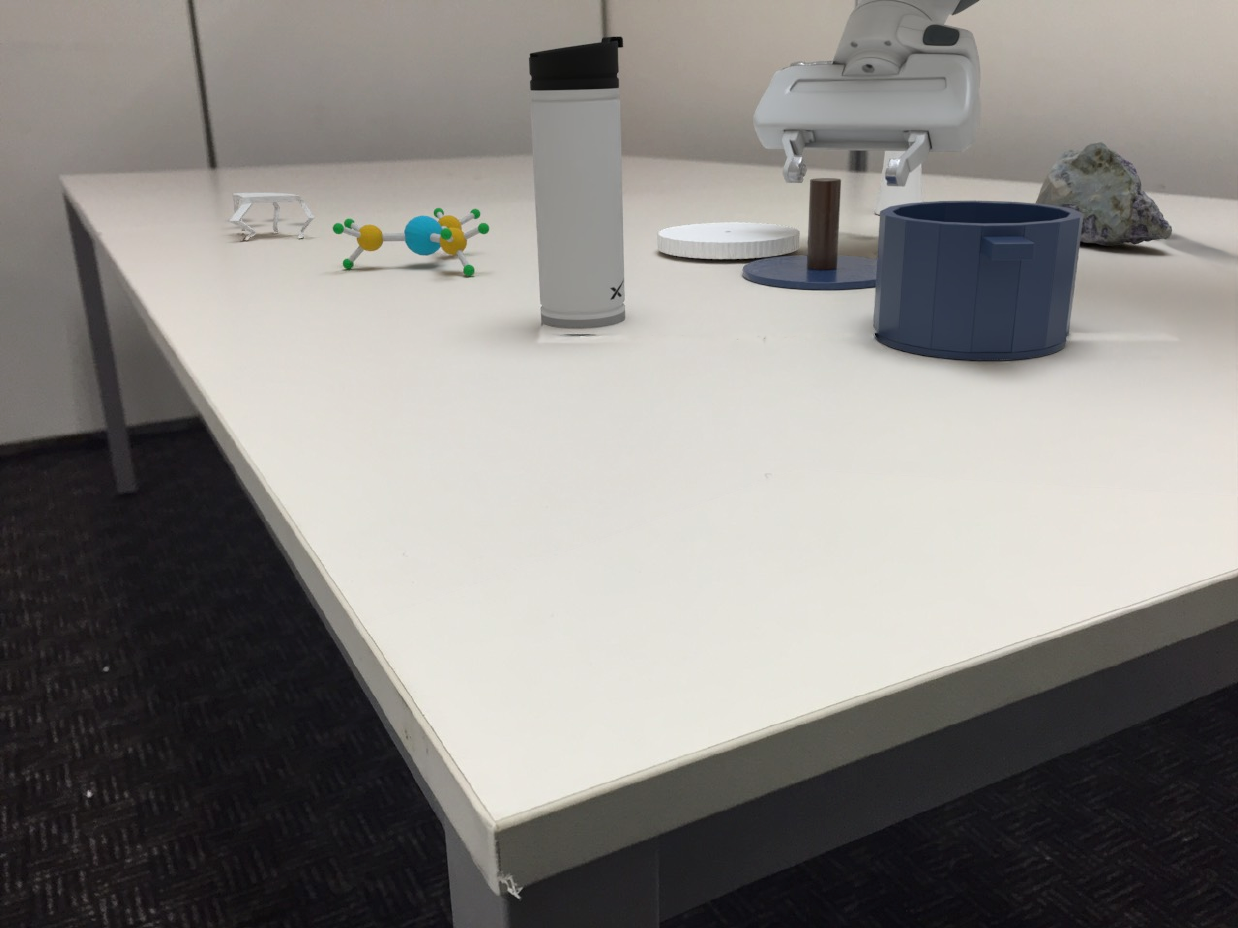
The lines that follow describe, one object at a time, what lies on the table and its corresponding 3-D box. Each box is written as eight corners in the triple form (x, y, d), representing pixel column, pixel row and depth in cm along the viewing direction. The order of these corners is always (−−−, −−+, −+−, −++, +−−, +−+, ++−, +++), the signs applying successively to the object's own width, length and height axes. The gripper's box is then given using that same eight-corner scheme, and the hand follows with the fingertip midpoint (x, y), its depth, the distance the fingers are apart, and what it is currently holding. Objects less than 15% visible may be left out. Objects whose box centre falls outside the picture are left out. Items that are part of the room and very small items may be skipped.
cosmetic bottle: (934, 213, 134) (948, 24, 126) (898, 218, 131) (910, 24, 124) (899, 209, 139) (911, 26, 131) (864, 213, 136) (874, 26, 128)
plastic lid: (644, 268, 102) (643, 241, 101) (672, 245, 115) (672, 221, 114) (792, 271, 99) (792, 243, 98) (804, 247, 112) (805, 223, 111)
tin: (1025, 309, 82) (1038, 195, 79) (1107, 371, 65) (1127, 230, 62) (858, 310, 83) (864, 197, 80) (896, 372, 66) (905, 232, 63)
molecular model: (322, 269, 106) (395, 289, 95) (316, 218, 105) (389, 232, 94) (463, 249, 116) (544, 265, 105) (460, 203, 114) (542, 214, 103)
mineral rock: (1174, 255, 102) (1192, 146, 99) (1059, 256, 103) (1072, 148, 99) (1124, 235, 114) (1137, 137, 111) (1021, 237, 115) (1031, 139, 112)
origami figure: (208, 242, 125) (202, 199, 123) (241, 232, 133) (235, 191, 131) (306, 242, 124) (301, 198, 122) (333, 232, 131) (329, 190, 130)
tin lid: (888, 267, 100) (895, 171, 97) (915, 296, 87) (923, 186, 84) (740, 268, 101) (741, 173, 98) (744, 297, 88) (746, 189, 85)
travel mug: (642, 329, 78) (637, 35, 71) (556, 339, 76) (543, 36, 69) (611, 313, 84) (604, 38, 77) (530, 322, 81) (515, 39, 75)
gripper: (770, 39, 102) (724, 154, 97) (991, 31, 92) (952, 158, 87) (786, 87, 107) (744, 199, 102) (998, 85, 97) (961, 208, 92)
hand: (841, 180), depth 95 cm, fingers open, 8 cm apart
